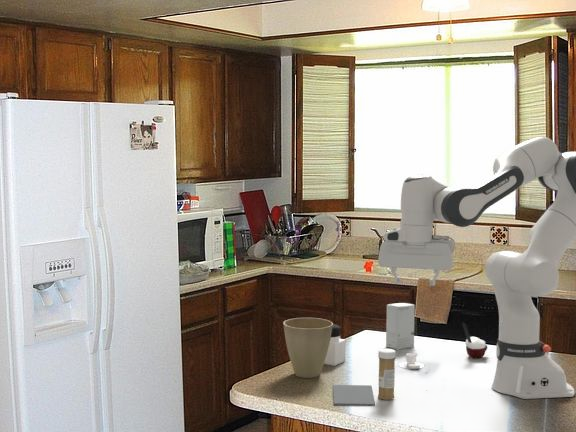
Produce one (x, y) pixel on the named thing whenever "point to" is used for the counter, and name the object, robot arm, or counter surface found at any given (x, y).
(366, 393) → the mat
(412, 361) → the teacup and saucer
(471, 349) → the cocoa
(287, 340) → the plant pot
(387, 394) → the sprinkles bottle
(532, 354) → the robot arm
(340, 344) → the medicine bottle
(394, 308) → the skincare box
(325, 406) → the counter surface
